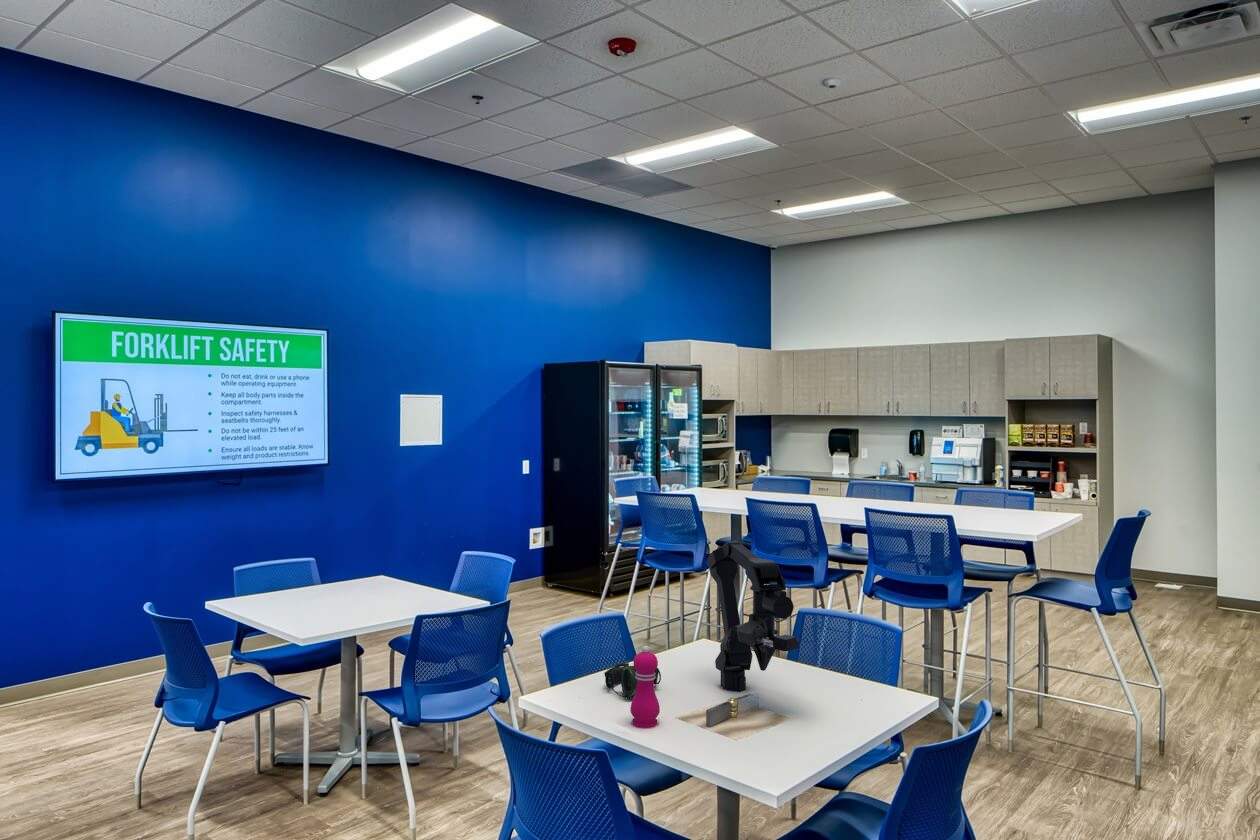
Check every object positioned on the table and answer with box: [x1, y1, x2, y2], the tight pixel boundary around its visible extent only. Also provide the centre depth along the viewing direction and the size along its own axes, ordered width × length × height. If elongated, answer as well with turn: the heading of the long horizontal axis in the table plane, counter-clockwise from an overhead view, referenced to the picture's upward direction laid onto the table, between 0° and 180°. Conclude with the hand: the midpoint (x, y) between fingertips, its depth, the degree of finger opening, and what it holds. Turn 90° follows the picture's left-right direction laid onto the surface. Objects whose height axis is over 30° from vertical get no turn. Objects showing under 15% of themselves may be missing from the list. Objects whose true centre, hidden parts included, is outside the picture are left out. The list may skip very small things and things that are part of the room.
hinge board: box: [674, 699, 794, 741], centre depth 206 cm, size 20×22×1 cm
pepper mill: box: [629, 645, 661, 729], centre depth 201 cm, size 7×7×20 cm
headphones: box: [603, 662, 662, 700], centre depth 229 cm, size 13×13×20 cm
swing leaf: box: [706, 702, 737, 726], centre depth 203 cm, size 11×2×4 cm, turn 138°
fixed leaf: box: [727, 691, 760, 718], centre depth 210 cm, size 11×2×4 cm, turn 133°
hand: (763, 670), depth 213 cm, fingers closed
